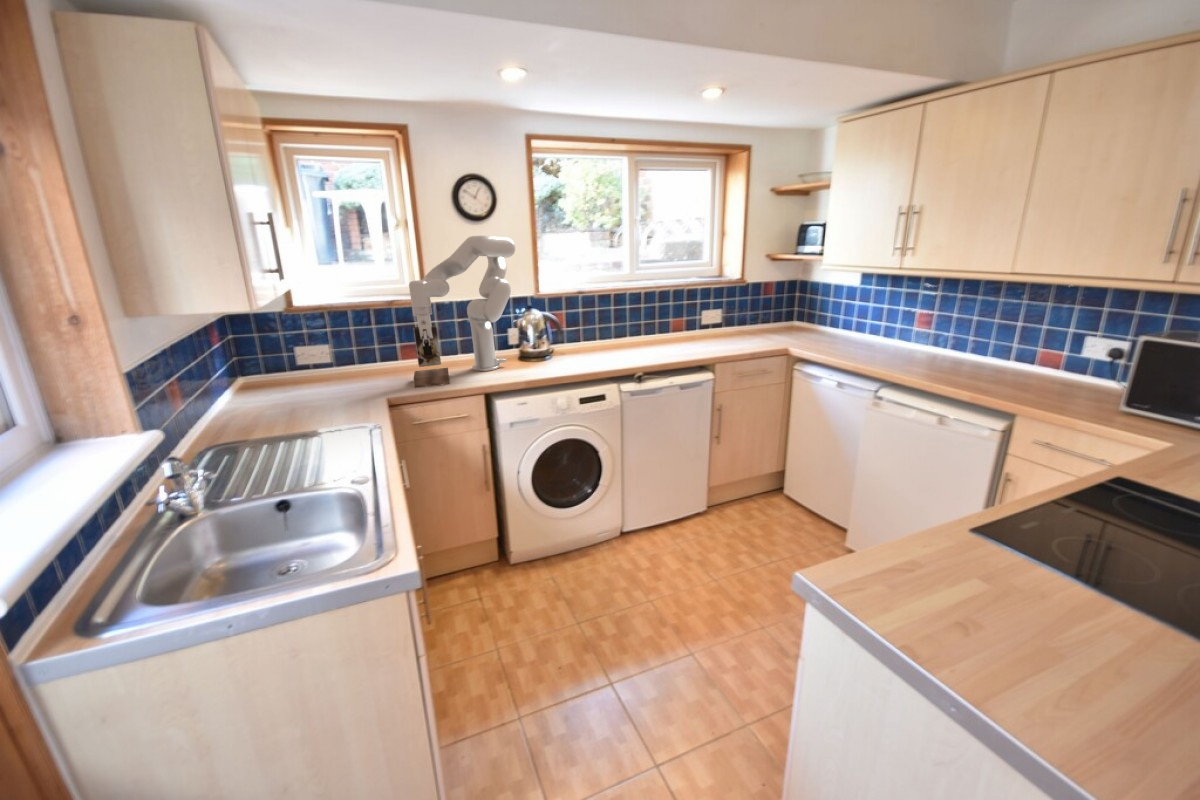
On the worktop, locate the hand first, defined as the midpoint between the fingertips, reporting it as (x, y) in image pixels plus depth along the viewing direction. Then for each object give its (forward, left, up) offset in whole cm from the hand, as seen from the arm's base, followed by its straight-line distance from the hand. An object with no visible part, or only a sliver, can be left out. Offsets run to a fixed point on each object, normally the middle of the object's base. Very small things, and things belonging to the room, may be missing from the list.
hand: (428, 353), depth 223 cm
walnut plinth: (0, 0, -13) cm, 13 cm away
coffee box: (0, 0, -5) cm, 5 cm away
